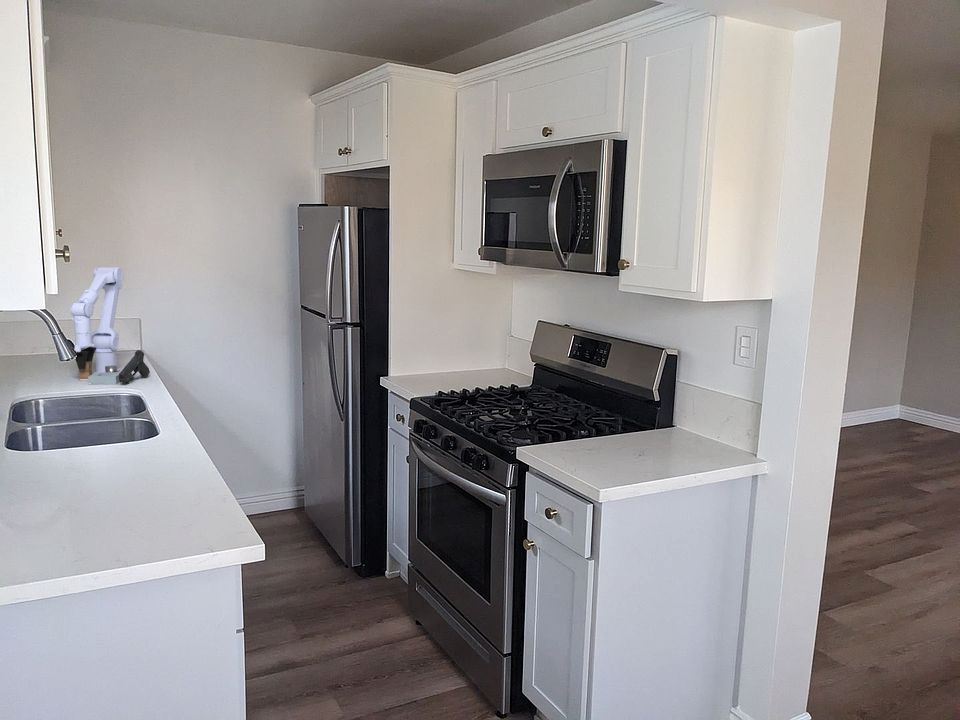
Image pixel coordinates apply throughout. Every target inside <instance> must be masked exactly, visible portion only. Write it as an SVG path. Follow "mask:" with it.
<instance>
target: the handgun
mask: <svg viewBox="0 0 960 720" xmlns="http://www.w3.org/2000/svg"><path fill="white" fill-rule="evenodd" d="M144 358H145V352H144V351H142V350H140V349H139V350H138V349H137V350H135V352H134V356H133V357H132V358H131V359H130V360H129V361H128V362H127V364H126V365H125V366H124V367H123V369H122V370H121V371H120V373H119V376H118V377H119V383H121V384H122V385H129V384H130V383H131V381H133V380H134V379H135V376H136V374H137V373H139V375H140V377H141V378H140V379H147V378H148V377H149V375H150V374H151V373H150V372H151V371H150V368H149V367H148V365H147V364H146V363H145V362H144ZM132 372H133V373H132Z"/></svg>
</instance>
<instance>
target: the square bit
mask: <svg viewBox="0 0 960 720" xmlns="http://www.w3.org/2000/svg"><path fill="white" fill-rule="evenodd" d="M92 364H93V362H92V363H91V362H86V366H85V369H79V368H78V375H79V378H78V379H79V380H80V379H88V376H90V375H92V374H93V365H92Z"/></svg>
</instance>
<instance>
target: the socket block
mask: <svg viewBox="0 0 960 720" xmlns="http://www.w3.org/2000/svg"><path fill="white" fill-rule="evenodd" d="M120 372H121V371H120ZM120 372H119V371H118V372H101V373H94V372H93V373H94V374H93V373H92V375H90V376H88V381H87V383H91V384H90V385H118V384H119V383H120V382H119V377H118V376H119V373H120Z"/></svg>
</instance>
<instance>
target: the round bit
mask: <svg viewBox="0 0 960 720" xmlns="http://www.w3.org/2000/svg"><path fill="white" fill-rule="evenodd" d="M117 367H118V365H117V366H115V365H111V366H105V372H119V371H118V370H117Z"/></svg>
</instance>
